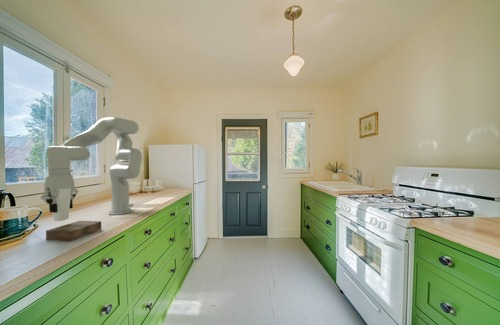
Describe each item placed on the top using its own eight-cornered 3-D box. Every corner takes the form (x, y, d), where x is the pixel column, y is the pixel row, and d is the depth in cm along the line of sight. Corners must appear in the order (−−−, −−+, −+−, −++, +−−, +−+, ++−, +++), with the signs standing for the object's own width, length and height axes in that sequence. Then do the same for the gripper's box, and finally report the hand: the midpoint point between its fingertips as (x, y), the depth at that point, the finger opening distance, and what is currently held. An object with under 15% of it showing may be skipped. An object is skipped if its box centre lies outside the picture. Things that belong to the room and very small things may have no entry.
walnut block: (79, 228, 95) (79, 220, 95) (101, 229, 93) (101, 221, 93) (46, 240, 81) (46, 230, 81) (70, 241, 80) (70, 231, 80)
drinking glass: (58, 222, 87) (58, 189, 87) (47, 221, 89) (46, 189, 89) (74, 218, 94) (74, 187, 94) (63, 217, 95) (63, 187, 95)
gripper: (72, 171, 100) (73, 205, 101) (30, 174, 83) (32, 215, 84) (84, 171, 99) (86, 205, 100) (45, 174, 82) (47, 216, 83)
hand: (61, 209), depth 92 cm, fingers closed on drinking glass, 6 cm apart
